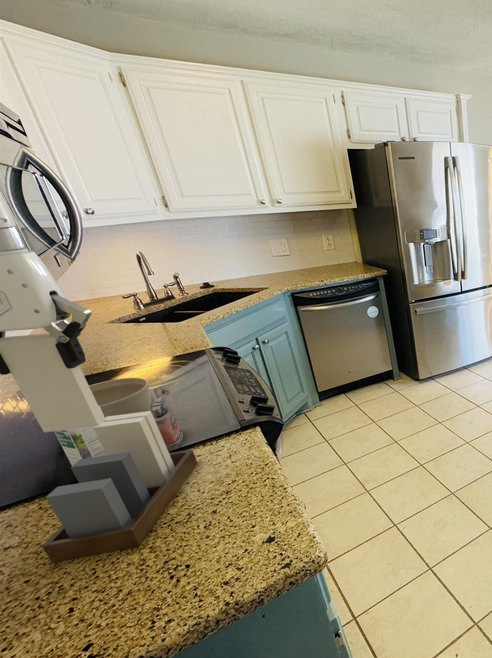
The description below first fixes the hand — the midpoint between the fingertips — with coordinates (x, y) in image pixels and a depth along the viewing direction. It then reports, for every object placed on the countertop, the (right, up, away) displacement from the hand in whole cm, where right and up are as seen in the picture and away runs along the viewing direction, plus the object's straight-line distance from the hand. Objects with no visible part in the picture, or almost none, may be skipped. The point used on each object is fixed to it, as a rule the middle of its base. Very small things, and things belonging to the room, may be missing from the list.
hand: (45, 367), depth 60 cm
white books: (-2, -23, +20) cm, 31 cm away
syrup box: (-16, -22, +25) cm, 37 cm away
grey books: (+1, -28, +10) cm, 29 cm away
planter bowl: (-26, -16, +39) cm, 49 cm away
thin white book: (0, -9, +4) cm, 10 cm away
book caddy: (0, -26, +15) cm, 30 cm away
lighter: (-10, -17, +35) cm, 40 cm away
